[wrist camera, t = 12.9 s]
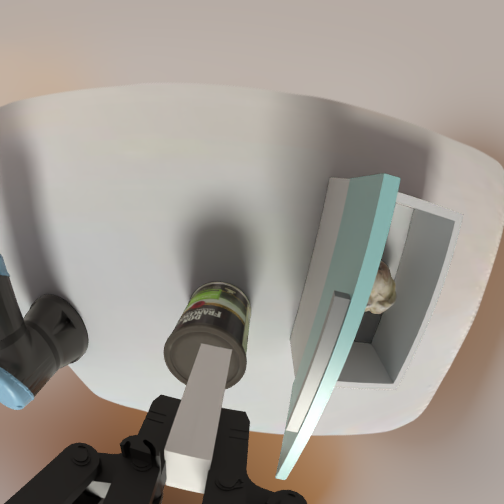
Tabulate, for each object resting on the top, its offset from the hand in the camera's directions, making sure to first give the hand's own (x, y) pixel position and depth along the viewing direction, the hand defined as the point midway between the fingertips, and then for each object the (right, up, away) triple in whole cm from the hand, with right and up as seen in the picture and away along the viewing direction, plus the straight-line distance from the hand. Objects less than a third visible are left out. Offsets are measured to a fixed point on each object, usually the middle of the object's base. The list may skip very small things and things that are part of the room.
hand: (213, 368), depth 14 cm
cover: (+9, -1, +12) cm, 15 cm away
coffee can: (-3, -4, +34) cm, 34 cm away
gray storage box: (+19, +2, +31) cm, 36 cm away
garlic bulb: (+19, +2, +31) cm, 36 cm away
